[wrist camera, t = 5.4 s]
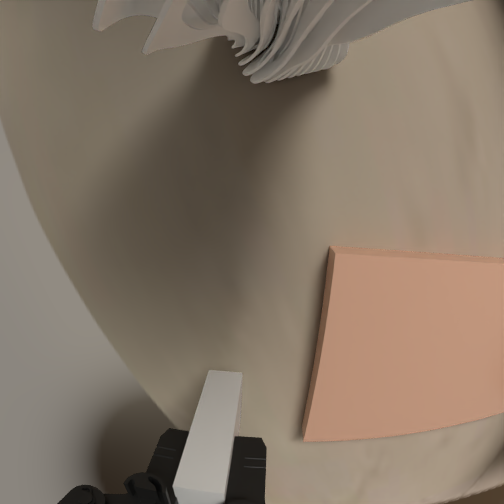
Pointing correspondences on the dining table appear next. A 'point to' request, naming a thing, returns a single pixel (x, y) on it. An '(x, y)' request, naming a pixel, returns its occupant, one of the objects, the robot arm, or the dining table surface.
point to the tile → (406, 344)
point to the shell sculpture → (268, 27)
